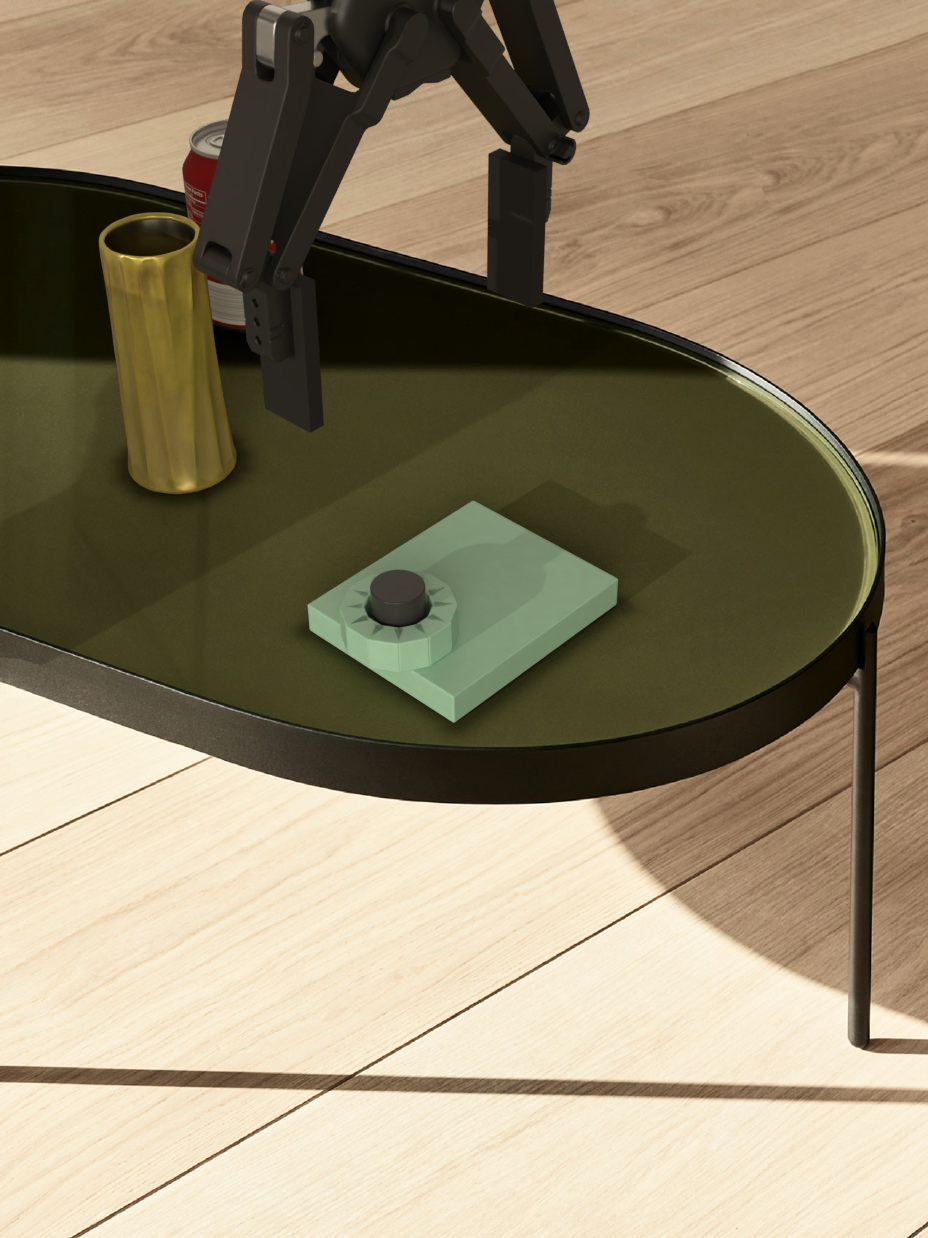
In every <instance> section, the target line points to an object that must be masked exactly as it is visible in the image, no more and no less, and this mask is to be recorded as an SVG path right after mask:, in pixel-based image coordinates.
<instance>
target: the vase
mask: <svg viewBox="0 0 928 1238" xmlns="http://www.w3.org/2000/svg"><path fill="white" fill-rule="evenodd" d="M199 231H200V227H199V226H198V225H197V224H196V223H195V222H193V221H192V220H190V219H189V218H188V217H186V216H183V215H180V214H176V213H173V212H172V213H171V212H142V213H136V214H132V215H128V216H125V217H123V218H121V219H117V220H116V221H114V222H112V223H110V224H109V225H107V226H106V227H105V228H104V229H103V230H102V231H101V233H100V234H99V237H98V248H99V256H100V262H101V267H102V273H103V274H102V275H103V279H104V285H105V292H106V298H107V304H108V312H109V319H110V328H111V335H112V343H113V352H114V359H115V365H116V370H117V378H118V379H117V380H118V388H119V395H120V403H121V404H120V405H121V412H122V416H123V424H124V430H125V437H126V447H127V469H128V473H129V476H130V477H131V479H132V480H133V481H134V482H135V483H137V484H138V485H139V486H141V487H142V488H144V489H145V490H146V489H147V490H149V491H152V492H156V493H163V494H170V495H184V494H192V493H197V492H200V491H205V490H206V489H209V488H212V487H213V486H216V485H218V484H220V483H221V482H223V481H224V480H225V479H226V478H227V477H228V476H229V475H230V474H231V472H233V470H234V469H235V467H236V464H237V450H236V449H237V448H236V447H235V444H234V443H235V442H234V441H233V440H234V439H233V435H232V429H231V425H230V422H229V417H228V412H227V407H226V403H225V397H224V391H223V386H222V380H221V374H220V368H219V361H218V354H217V348H216V342H215V334H214V333H215V332H214V325H213V321H212V313H211V304H210V296H209V288H208V280H207V275H206V274H204V273H202V272H200V271H198V270H197V269H196V268H195V267H194V264H193V254H194V250H195V246H196V242H197V238H198V235H199Z"/></svg>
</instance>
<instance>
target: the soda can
mask: <svg viewBox="0 0 928 1238" xmlns="http://www.w3.org/2000/svg"><path fill="white" fill-rule="evenodd" d="M228 119H229V118H226V119H219V120H215V121H211V122H208V123H206V124H203V125H201V126H200V127H198V128H197V129H195V130H194V131H192V133H190V136H189V138H188V141H189V142H188V144H189V147H190V150H189V152H188V154H187V155H186V157H185V159H184V161H183V163H182V167H181V168H182V169H181V171H182V173H181V174H182V179H183V180H182V181H183V189H184V195H185V205H186V211H187V213H186V214H187V218H189V219H190V220H192V221H193V222H195V223H196V224H197V225H198V226H199V227H201V223H202V219H203V215H204V211H205V208H206V204H207V200H208V196H209V192H210V188H211V184H212V181H213V177H214V173H215V169H216V165H217V161H218V158H219V154H220V150H221V146H222V142H223V138H224V134H225V131H226V127H227V123H228ZM275 248H276V244H275V242H274V241H273V240H271V242H270V244H269V248H268V249H269V250H271V251H273V252H275ZM299 273H300V274H302V275H304V272H303V267H302V268H301V270H300V272H299ZM207 280H208V288H209V296H210V304H211V313H212V321H213V326H214V327H217V328H220V329H223V330H226V331H230V332H233V333H239V334H246V326H245V320H246V319H245V316H244V305H243V294H242V292H241V291H239V290H237V289H235V288H232V287H230V286H228V285H226V284H224V283H222V282H220V281H218V280H216V279H214V278H212V277H210V276H208V275H207Z"/></svg>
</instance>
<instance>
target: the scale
mask: <svg viewBox="0 0 928 1238" xmlns="http://www.w3.org/2000/svg"><path fill="white" fill-rule="evenodd" d="M390 570H408V571H411V572H414V573H416V574H418V575H419V576H420V577H421V578H422V579H423V581H424V583H425V592H426V613H425V615H424V617H423V619H422V620H421V621H419V622H418V623H417V624H415V625H410V626H405V627H400V628H398V627H391V626H384V625H381V624H379V623H378V622H377V621H376V620H375V619H374V618H373V616H372V612H371V595H370V585H371V583H372V581H373V579H374V578H375V577H376V576H378V575H379V574H381V573H383V572H386V571H390ZM618 588H619V579H618V578H617V577H616V576H615V575H612V574H610V573H609V572H606V570H603V569H601V568H599V567H597V566H595V565H594V564H592V563H590V562H588V561H587V560H584V559H583V558H581V557H579V556H577V555H575V554H574V553H571V552H570V551H567V550H566V549H564V548H562V547H561V546H559V545H557V544H556V543H553V542H551V541H549V540H547V539H546V538H544V537H543V536H540V535H538V534H536V533H535V532H534V531H533V532H532V531H531V530H529V529H527V528H526V527H524V526H523V525H522V526H521V525H520V524H518V523H516V522H515V521H513V520H511V519H508V518H507V517H505V516H504V515H501V514H500V513H498V512H496V511H494V510H492V509H490V508H489V507H486V506H485V505H484V504H481V503H479V502H478V501H476V500H471V501H469V502H468V503H465V505H464V506H462V507H460V508H459V509H457V510H456V511H454V512H452V513H451V514H449V515H448V516H446V517H444V518H442V519H441V520H439V521H438V522H436V523H435V524H433V525H431V526H430V527H428V528H427V529H425V530H424V531H422V532H420V533H419V534H417V535H416V536H414V537H412V538H411V539H409V540H407V541H406V542H405V543H403V544H400V546H398V547H396V548H395V549H393V550H391V551H390V552H389V553H387V554H386V555H384V556H382V557H381V558H379V559H377V560H376V561H374V562H372V563H371V564H370V565H368V566H366V567H365V568H363V569H361V570H360V571H358V572H357V573H355V574H354V575H352V576H350V577H348V578H347V579H346V580H344V581H342V582H341V583H339V584H338V585H336V586H335V587H333V588H332V589H330V590H328V591H327V592H325V593H323V594H321V596H318V597H317V598H316V599H314V600H312V601H311V602H309V603H308V604H307V615H308V616H307V617H308V626H309V630H310V632H311V633H314V634H315V635H317V636H318V637H320V638H321V639H323V640H324V641H326V642H327V643H329V644H330V645H332V646H333V647H334V648H337V649H338V650H340V651H342V652H343V653H344V654H346V655H348V656H349V657H351V658H352V659H354V660H355V661H357V662H358V663H360V664H361V665H363V666H365V667H366V668H367V669H369V670H371V671H372V672H374V673H376V674H377V675H379V676H380V677H382V678H383V679H385V680H386V681H388V682H389V683H391V684H392V685H394V686H396V687H397V688H399V689H400V690H402V691H403V692H405V693H407V694H408V695H410V696H411V697H412V698H414V699H416V700H417V701H419V702H421V703H422V704H424V705H425V706H427V707H428V708H430V709H431V710H433V711H435V712H436V713H438V714H439V715H441V716H443V718H445V719H447V720H448V721H450V722H452V723H457V721H459V720H460V719H462V718H463V717H464V716H466V715H467V714H469V713H470V712H471V711H472V710H474V709H475V708H476V707H478V706H479V705H481V704H482V703H483V702H485V701H486V700H488V699H489V698H491V697H492V696H493V695H495V694H496V693H497V692H499V691H500V690H501V689H503V688H504V687H505V686H507V685H508V684H509V683H511V682H513V680H515V679H516V678H518V677H519V676H520V675H522V674H523V673H525V672H526V671H528V670H529V669H530V668H531V667H533V666H534V665H536V664H537V663H538V662H540V661H541V660H542V659H544V658H545V657H546V656H548V655H550V654H551V653H553V651H555V650H556V649H557V648H560V646H561V645H563V644H565V643H566V642H567V641H568V640H570V639H571V638H572V637H574V636H575V635H577V634H578V633H580V632H581V631H582V630H584V629H585V628H587V627H588V626H589V625H590V624H591V623H593V622H594V621H596V620H597V619H598V618H600V617H601V616H603V615H604V614H605V613H607V612H608V611H609V610H611V609H612V608H613V607H615V606H617V603H618Z"/></svg>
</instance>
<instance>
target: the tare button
mask: <svg viewBox="0 0 928 1238" xmlns="http://www.w3.org/2000/svg"><path fill="white" fill-rule="evenodd" d="M370 595H371V612H372V616H373V618H374V619H375V620H376V621H377V622H378V623H379V624H381V625H384V626H391V627H398V628H400V627H405V626H410V625H415V624H417V623H418V622H419V621H421V620H422V619H423V617H424V615H425V613H426V592H425V583H424V581H423V579H422V578H421V577H420V576H419V575H418V574H416V573H414V572H411V571H408V570H390V571H386V572H383V573H381V574H379V575H378V576H376V577H375V578H374V579H373V581H372V583H371V585H370Z"/></svg>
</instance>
